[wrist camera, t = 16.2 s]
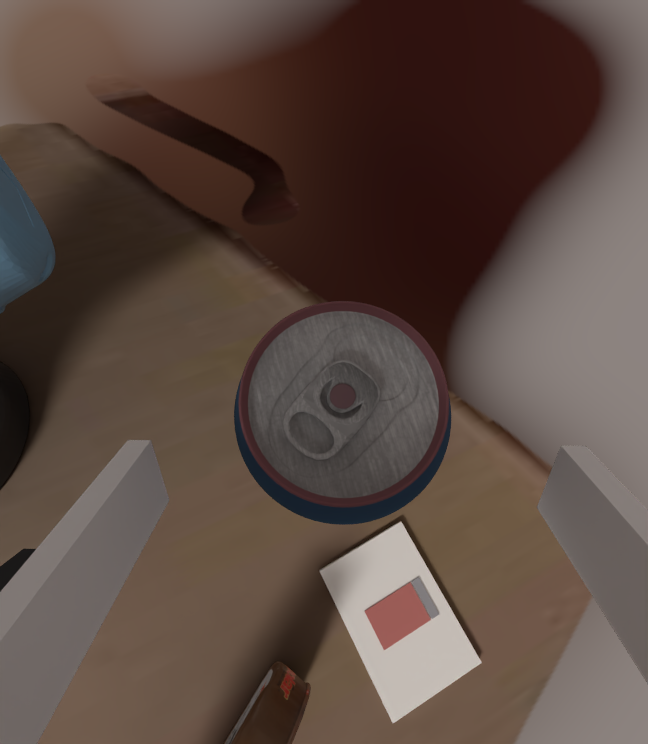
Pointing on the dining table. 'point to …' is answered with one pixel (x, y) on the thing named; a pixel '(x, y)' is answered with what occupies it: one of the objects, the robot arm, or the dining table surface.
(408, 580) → the card
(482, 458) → the dining table surface
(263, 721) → the tin
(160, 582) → the dining table surface
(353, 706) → the dining table surface
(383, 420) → the soda can
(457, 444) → the dining table surface
